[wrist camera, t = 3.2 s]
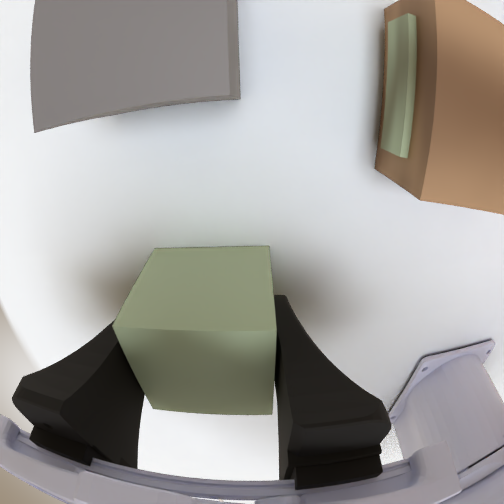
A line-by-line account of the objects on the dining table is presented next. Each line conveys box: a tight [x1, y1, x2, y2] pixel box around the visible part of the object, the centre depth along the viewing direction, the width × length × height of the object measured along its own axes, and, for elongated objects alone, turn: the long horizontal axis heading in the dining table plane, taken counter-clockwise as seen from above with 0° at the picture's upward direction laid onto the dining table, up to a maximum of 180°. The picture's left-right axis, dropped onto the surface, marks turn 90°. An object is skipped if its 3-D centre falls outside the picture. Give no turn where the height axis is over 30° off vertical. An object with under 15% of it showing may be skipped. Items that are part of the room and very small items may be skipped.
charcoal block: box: [30, 0, 240, 133], centre depth 6 cm, size 5×5×5 cm
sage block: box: [112, 246, 277, 415], centre depth 11 cm, size 5×5×5 cm
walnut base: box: [374, 0, 504, 215], centre depth 7 cm, size 7×7×4 cm
